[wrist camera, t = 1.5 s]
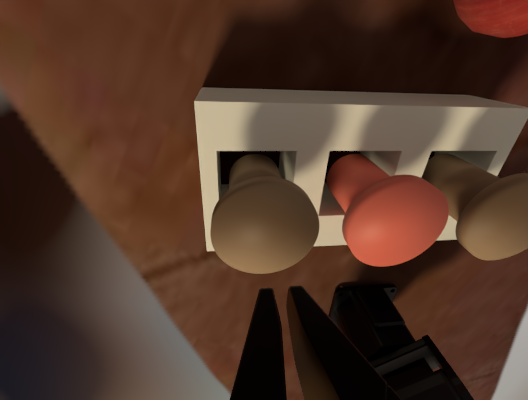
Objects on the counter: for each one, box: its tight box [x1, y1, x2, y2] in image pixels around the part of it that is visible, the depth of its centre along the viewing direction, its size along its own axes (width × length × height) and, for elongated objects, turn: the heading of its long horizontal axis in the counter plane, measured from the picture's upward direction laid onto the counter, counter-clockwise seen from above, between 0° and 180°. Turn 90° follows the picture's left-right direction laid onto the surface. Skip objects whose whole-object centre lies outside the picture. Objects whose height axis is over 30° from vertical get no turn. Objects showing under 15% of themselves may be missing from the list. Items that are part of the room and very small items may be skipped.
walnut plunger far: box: [422, 153, 528, 260], centre depth 15 cm, size 5×5×6 cm
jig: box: [194, 87, 528, 251], centre depth 18 cm, size 9×18×4 cm, turn 88°
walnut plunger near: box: [210, 154, 319, 274], centre depth 14 cm, size 5×5×6 cm
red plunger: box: [327, 154, 449, 267], centre depth 14 cm, size 5×5×6 cm
